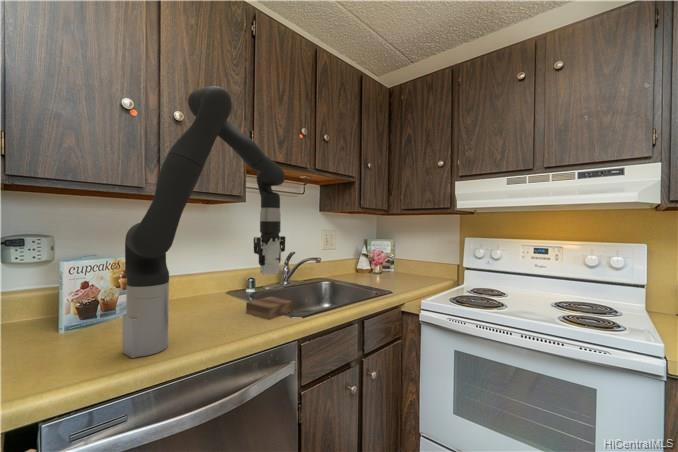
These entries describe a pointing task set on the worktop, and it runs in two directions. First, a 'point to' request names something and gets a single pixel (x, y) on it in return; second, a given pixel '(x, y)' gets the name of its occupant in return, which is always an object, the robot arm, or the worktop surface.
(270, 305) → the walnut plinth
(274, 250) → the skincare box
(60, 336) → the worktop surface
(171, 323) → the worktop surface
